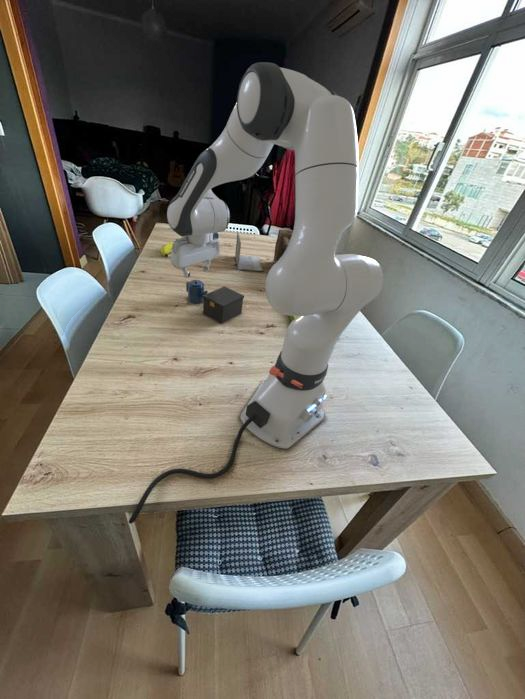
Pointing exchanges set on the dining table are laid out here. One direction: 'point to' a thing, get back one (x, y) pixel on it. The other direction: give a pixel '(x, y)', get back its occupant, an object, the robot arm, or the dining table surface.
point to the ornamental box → (282, 243)
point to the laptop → (246, 259)
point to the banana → (166, 249)
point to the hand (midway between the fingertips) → (196, 273)
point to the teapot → (195, 291)
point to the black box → (222, 304)
